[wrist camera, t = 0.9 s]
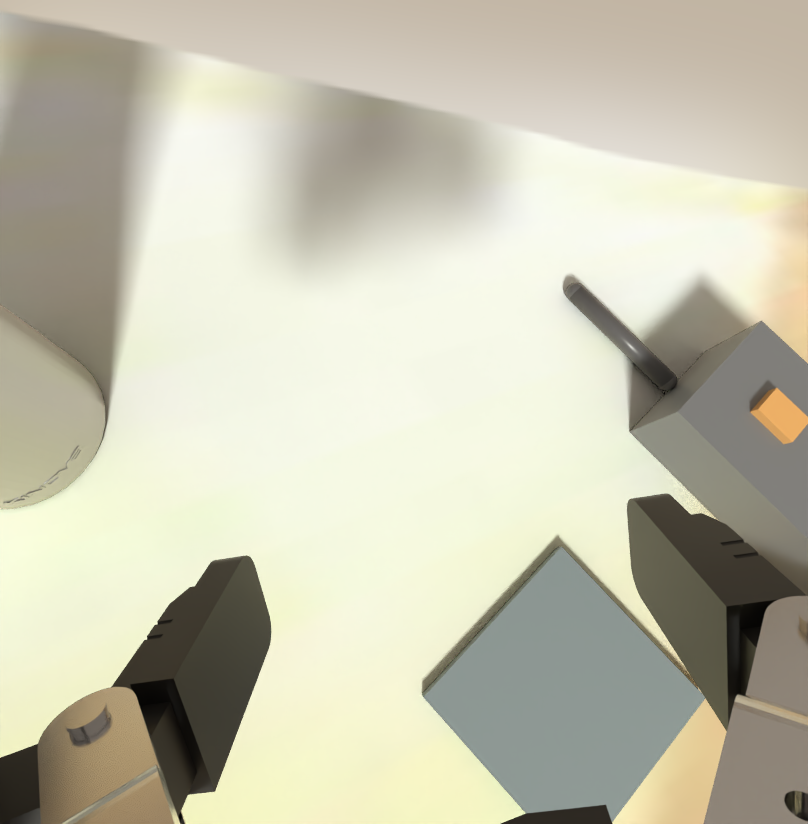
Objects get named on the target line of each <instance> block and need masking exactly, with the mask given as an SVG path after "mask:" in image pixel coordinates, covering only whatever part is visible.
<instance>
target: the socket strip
mask: <svg viewBox="0 0 808 824" xmlns="http://www.w3.org/2000/svg"><path fill="white" fill-rule="evenodd" d="M566 296H567V298H568V299H569V300H570V301H571V302H572V303H573V304H574V305H575V306H576V307H577V308H578V309H579V310H580V311H581V312H582V313H583V314H584V315H585V316H586V317H587V318H588V319H589V320H590V321H591V322H592V323H593V324H594V325H595V326H596V327H597V328H598V329H599V330H601V331H602V332H603V333H604V334H605V335H606V336H607V337H608V338H609V339H610V340H611V341H612V342H613V343H614V344H615V345H616V346H617V347H618V348H619V349H620V350H621V351H622V352H623V353H624V354H625V355H626V356H627V357H628V358H629V359H630V360H631V361H632V362H633V363H634V364H635V365H636V366H637V367H638V368H639V369H640V370H641V371H643V372H644V373H645V374H646V375H647V376H648V377H649V378H650V379H651V380H652V381H653V382H654V383H655V384H656V385H657V386H658V387H659V388H660V389H662V390H665V391H667V393H666V394H665V395H664V396H663V397H662V398H661V399H660V400H659V401H658V402H657V403H656V404H655V405H654V406H653V407H652V408H651V410H650V411H649V412H648V413H647V414H646V415H645V416H644V417H643V418H642V419H641V420H640V421H639V422H638V423H637V424H636V425H635V426H634V428H633V429H632V430H631V431H630V433H631V434H632V435H633V436H634V437H635V438H636V439H637V440H638V441H639V442H640V443H641V444H642V445H643V446H644V447H645V448H646V449H647V450H648V451H649V452H650V453H651V454H652V455H653V456H654V457H655V458H657V459H658V460H659V461H660V462H661V463H662V464H663V465H664V466H665V467H666V468H667V469H668V470H669V471H670V472H671V473H672V474H673V475H674V476H675V477H676V478H677V479H678V480H679V481H680V482H681V483H682V484H683V485H684V486H685V487H686V488H687V489H688V490H689V491H690V492H691V493H692V494H693V495H694V496H695V497H696V498H697V499H698V500H699V501H700V502H701V503H702V504H703V505H704V506H705V507H706V508H707V509H708V510H709V511H710V512H711V513H712V514H713V515H714V516H715V517H716V518H717V519H718V520H719V521H720V522H722V523H725V524H727V525H728V526H729V527H730V528H731V529H732V530H734V531H735V532H736V533H737V534H738V535H739V536H740V537H741V538H743V539H744V542H745V543H746V542H747V543H748V544H749V545H750V546H752V547H753V548H754V549H755V550H756V551H757V552H758V555H759V556H760V555H762V556H763V557H764V558H765V559H766V560H767V561H769V562H770V563H771V564H772V565H773V566H774V567H775V568H776V569H778V570H779V571H780V572H781V573H782V574H783V575H784V576H785V577H787V578H788V579H789V580H790V581H791V582H792V583H793V584H795V585H796V586H797V587H798V588H799V589H800V590H801V591H802V592H804V593H805V594H806V595H807V596H808V364H807V363H806V362H805V361H804V360H803V359H802V358H801V357H800V356H799V355H798V354H797V353H796V352H795V351H793V350H792V349H791V348H790V347H789V346H788V345H787V344H786V343H785V342H784V341H783V340H782V339H781V338H780V337H778V336H777V335H776V334H775V333H774V332H773V331H772V330H771V329H770V328H769V327H768V326H767V325H766V324H765V323H763V322H762V321H760V322H758V323H756V324H755V325H753V326H751V327H749V328H747V329H746V330H744V331H742V332H740V333H738V334H736V335H735V336H733V337H731V338H729V339H727V340H726V341H724V342H722V343H720V344H718V345H716V346H715V347H713V348H711V349H709V350H707V351H706V352H704V353H703V354H702V355H701V357H700V358H699V359H698V360H697V361H696V362H695V363H694V364H693V365H692V366H691V367H690V368H689V369H688V370H687V371H686V372H685V373H684V375H683V376H682V377H681V378H680V379H679V380H678V381H677V377H676V375H675V374H674V373H673V372H672V371H671V370H670V369H669V368H668V367H667V366H665V365H664V364H663V363H662V362H661V361H660V360H659V359H658V358H657V357H656V356H655V355H654V354H653V353H652V352H651V351H650V350H649V349H648V348H647V347H646V346H645V345H644V344H643V343H642V342H641V341H640V340H639V339H638V338H637V337H636V336H634V335H633V334H632V333H631V332H630V331H629V330H628V329H627V328H626V327H625V326H624V325H623V324H622V323H621V322H620V321H619V320H618V319H617V318H616V317H615V316H614V315H613V314H612V313H611V312H610V311H609V310H608V309H607V308H606V307H605V306H604V305H602V304H601V303H600V302H599V301H598V300H597V299H596V298H595V297H594V296H593V295H592V294H591V293H590V292H589V291H588V290H587V289H586V288H585V287H584V286H583V285H582V284H580V283H573V284H571V285H569V286H568V288H567V290H566Z"/></svg>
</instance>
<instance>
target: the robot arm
mask: <svg viewBox="0 0 808 824" xmlns="http://www.w3.org/2000/svg"><path fill="white" fill-rule="evenodd" d="M104 428H105V404H104V400H103V396H102V392H101V390H100V388H99V386H98V384H97V382H96V380H95V378H94V377H93V375H92V374H91V373H90V372H89V371H88V370H87V369H86V368H85V366H84V365H83V364H81V363H80V362H79V361H77V360H76V359H74V358H73V357H72V356H70V355H69V354H68V353H66V352H65V351H63V350H62V349H61V348H59V347H58V346H57V345H55V344H54V343H53V342H51V341H50V340H48V339H47V338H46V337H44V336H43V335H42V334H41V333H39V332H38V331H37V330H35V329H34V328H32V327H31V326H30V325H28V324H27V323H26V322H24V321H23V320H21V319H20V318H19V317H17V316H16V315H14V314H13V313H12V312H10V311H9V310H8V309H6V308H5V307H3V306H2V305H1V304H0V509H14V508H19V507H24V506H29V505H33V504H36V503H38V502H40V501H43V500H45V499H48V498H50V497H52V496H54V495H55V494H57V493H58V492H60V491H62V490H63V489H65V488H66V487H68V486H69V485H70V484H71V483H72V482H73V481H74V480H75V479H76V478H78V477H79V476H80V475H81V474H82V473H83V472H84V470H85V469H86V468H87V466H88V465H89V463H90V462H91V461H92V459H93V458H94V456H95V454H96V452H97V450H98V447H99V445H100V443H101V441H102V437H103V432H104ZM627 516H628V530H629V543H630V557H631V569H632V574H633V578H634V582H635V585H636V588H637V590H638V593H639V595H640V597H641V599H642V600H643V602H644V603H645V605H646V606H647V608H648V609H649V611H650V613H651V614H652V616H653V617H654V619H655V620H656V622H657V623H658V625H659V627H660V628H661V630H662V631H663V633H664V634H665V636H666V637H667V639H668V641H669V642H670V644H671V645H672V647H673V648H674V650H675V651H676V653H677V655H678V656H679V658H680V659H681V661H682V662H683V664H684V665H685V667H686V669H687V670H688V672H689V673H690V675H691V676H692V678H693V679H694V681H695V682H696V684H697V686H698V687H699V689H700V690H701V692H702V693H703V695H704V696H705V698H706V700H707V701H708V703H709V704H710V706H711V707H712V709H713V710H714V712H715V714H716V715H717V717H718V718H719V720H720V721H721V723H722V724H723V726H724V728H725V729H726V731H727V733H726V737H725V741H724V745H723V749H722V753H721V757H720V761H719V765H718V769H717V773H716V777H715V781H714V785H713V789H712V793H711V797H710V801H709V805H708V809H707V813H706V817H705V821H704V824H808V596H807V595H806V594H805V593H804V592H802V591H801V590H800V589H799V588H798V587H797V586H796V585H795V584H793V583H792V582H791V581H790V580H789V579H788V578H787V577H785V576H784V575H783V574H782V573H781V572H780V571H779V570H778V569H776V568H775V567H774V566H773V565H772V564H771V563H770V562H769V561H767V560H766V559H765V558H764V557H763V556H762V555H760V556H759V555H758V552H757V551H756V550H755V549H754V548H753V547H752V546H750V545H749V544H748V543H747V542H746V543H745V542H744V539H743V538H741V537H740V536H739V535H738V534H737V533H736V532H735V531H734V530H732V529H731V528H730V527H729V526H728V525H727V524H725V523H722V522H720V521H718V520H716V519H713V518H711V517H709V516H706V515H704V514H702V513H700V514H693V515H691V514H690V513H688V512H687V511H686V510H685V509H684V508H683V507H682V506H681V505H680V504H679V503H678V502H677V501H676V500H675V499H674V498H673V497H672V496H671V495H669V494H660V495H653V496H647V497H640V498H633V499H630V500H629V501H628V505H627ZM270 641H271V621H270V616H269V612H268V609H267V606H266V602H265V599H264V595H263V592H262V589H261V585H260V582H259V578H258V575H257V572H256V568H255V565H254V562H253V560H252V559H251V558H250V557H249V556H240V557H234V558H227V559H220V560H214V561H212V562H211V563H210V564H209V566H208V567H207V569H206V570H205V572H204V573H203V575H202V576H201V578H200V579H199V581H198V582H197V584H196V586H195V587H190V588H188V589H187V590H186V591H185V592H184V593H182V594H181V595H180V596H179V597H178V598H176V599H175V600H174V601H173V602H172V603H170V604H169V606H168V607H167V609H166V610H165V612H164V613H163V614H162V616H161V617H160V619H159V620H158V625H155V626H154V627H153V629H152V630H151V631H150V633H149V634H148V636H147V640H144V641H143V643H142V644H141V646H140V647H139V649H138V650H137V651H136V653H135V654H134V656H133V657H132V659H131V660H130V661H129V663H128V664H127V666H126V667H125V668H124V670H123V671H122V673H121V674H120V676H119V677H118V678H117V680H116V681H115V683H114V684H113V686H112V687H111V688H107V689H103V690H100V691H97V692H94V693H92V694H90V695H88V696H86V697H84V698H82V699H80V700H78V701H77V702H75V703H74V704H72V705H71V706H69V707H68V708H66V709H65V710H64V711H63V712H61V713H60V714H59V715H58V716H57V717H56V718H55V719H54V720H53V721H52V722H51V723H50V724H49V725H48V727H47V728H46V729H45V731H44V732H43V734H42V736H41V738H40V740H39V743H38V744H37V745H34V746H31V747H28V748H26V749H23V750H20V751H18V752H15V753H12V754H10V755H7V756H4V757H1V758H0V824H186V822H185V819H184V816H183V814H182V811H181V810H182V807H183V805H184V802H185V800H186V798H187V795H189V794H197V793H206V792H214V791H215V790H216V787H217V785H218V782H219V779H220V777H221V774H222V771H223V769H224V766H225V763H226V761H227V758H228V755H229V753H230V750H231V747H232V745H233V742H234V739H235V737H236V734H237V731H238V729H239V726H240V723H241V721H242V718H243V715H244V713H245V710H246V707H247V705H248V702H249V699H250V697H251V694H252V691H253V689H254V686H255V683H256V681H257V678H258V676H259V673H260V670H261V668H262V665H263V662H264V660H265V657H266V654H267V652H268V649H269V646H270ZM501 824H612V821H611V818H610V815H609V812H608V809H607V806H606V805H599V806H590V807H580V808H571V809H562V810H553V811H544V812H534V813H527V814H524V815H522V816H519V817H516V818H514V819H511V820H509V821H506V822H504V823H501Z"/></svg>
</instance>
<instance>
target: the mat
mask: <svg viewBox="0 0 808 824" xmlns="http://www.w3.org/2000/svg"><path fill="white" fill-rule="evenodd" d="M422 695H423V697H424V698H425V699H426V701H427V702H428V703H429V704H430V705H431V706H432V707H433V708H434V710H435V711H436V712H437V713H438V714H439V715H440V716H441V717H442V719H443V720H444V721H445V722H446V723H447V724H448V725H449V727H450V728H451V729H452V730H453V731H454V732H455V733H456V734H457V736H458V737H459V738H460V739H461V740H462V741H463V742H464V744H465V745H466V746H467V747H468V748H469V749H470V750H471V751H472V753H473V754H474V755H475V756H476V757H477V758H478V759H479V761H480V762H481V763H482V764H483V765H484V766H485V767H486V768H487V770H488V771H489V772H490V773H491V774H492V775H493V776H494V777H495V779H496V780H497V781H498V782H499V783H500V784H501V785H502V787H503V788H504V789H505V790H506V791H507V792H508V793H509V794H510V796H511V797H512V798H513V799H514V800H515V801H516V802H517V804H518V805H519V806H520V807H521V808H522V809H523V810H524V811H525V813H526V814H527V813H534V812H544V811H553V810H562V809H571V808H580V807H590V806H599V805H606V806H607V809H608V812H609V815H610V818H611V821H612V822H613V820H614V819H615V818H616V816H617V815H618V814H619V812H620V811H621V810H622V808H623V807H624V806H625V804H626V803H627V802H628V800H629V799H630V798H631V796H632V795H633V794H634V792H635V791H636V790H637V788H638V787H639V786H640V784H641V783H642V782H643V780H644V779H645V778H646V776H647V775H648V774H649V772H650V771H651V770H652V768H653V767H654V766H655V764H656V763H657V762H658V760H659V759H660V758H661V756H662V755H663V754H664V752H665V751H666V750H667V748H668V747H669V746H670V744H671V743H672V742H673V740H674V739H675V738H676V736H677V735H678V734H679V732H680V731H681V730H682V728H683V727H684V726H685V724H686V723H687V722H688V720H689V719H690V718H691V716H692V715H693V714H694V712H695V711H696V710H697V708H698V707H699V706H700V704H701V703H702V702H703V701H704V699H705V696H704V695H703V694H702V693H701V692H700V691H699V690H698V689H697V688H696V687H695V686H694V685H693V684H692V683H691V682H690V681H689V680H688V678H687V677H686V676H685V675H684V674H683V673H682V672H681V671H680V670H679V669H678V668H677V667H676V666H675V665H674V664H673V663H672V662H671V661H670V660H669V659H668V658H667V656H666V655H665V654H664V653H663V652H662V651H661V650H660V649H659V648H658V647H657V646H656V645H655V644H654V643H653V642H652V641H651V640H650V639H649V638H648V637H647V636H646V635H645V633H644V632H643V631H642V630H641V629H640V628H639V627H638V626H637V625H636V624H635V623H634V622H633V621H632V620H631V619H630V618H629V617H628V616H627V615H626V614H625V613H624V611H623V610H622V609H621V608H620V607H619V606H618V605H617V604H616V603H615V602H614V601H613V600H612V599H611V598H610V597H609V596H608V595H607V594H606V593H605V592H604V591H603V590H602V588H601V587H600V586H599V585H598V584H597V583H596V582H595V581H594V580H593V579H592V578H591V577H590V576H589V575H588V574H587V573H586V572H585V571H584V570H583V569H582V568H581V566H580V565H579V564H578V563H577V562H576V561H575V560H574V559H573V558H572V557H571V556H570V555H569V554H568V553H567V552H566V551H565V550H564V549H563V548H562V547H557V548H556V549H555V550H554V551H553V552H552V553H551V555H550V556H549V557H548V558H547V559H546V560H545V561H544V562H543V563H542V564H541V565H540V566H539V568H538V569H537V570H536V571H535V572H534V573H533V574H532V575H531V576H530V577H529V578H528V580H527V581H526V582H525V583H524V584H523V585H522V586H521V587H520V588H519V589H518V590H517V591H516V593H515V594H514V595H513V596H512V597H511V598H510V599H509V600H508V601H507V602H506V603H505V605H504V606H503V607H502V608H501V609H500V610H499V611H498V612H497V613H496V614H495V615H494V616H493V618H492V619H491V620H490V621H489V622H488V623H487V624H486V625H485V626H484V627H483V628H482V630H481V631H480V632H479V633H478V634H477V635H476V636H475V637H474V638H473V639H472V640H471V641H470V643H469V644H468V645H467V646H466V647H465V648H464V649H463V650H462V651H461V652H460V653H459V655H458V656H457V657H456V658H455V659H454V660H453V661H452V662H451V663H450V664H449V665H448V666H447V668H446V669H445V670H444V671H443V672H442V673H441V674H440V675H439V676H438V677H437V678H436V680H435V681H434V682H433V683H432V684H431V685H430V686H429V687H428V688H427V689H426V690H425V691H424V693H423V694H422Z"/></svg>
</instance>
